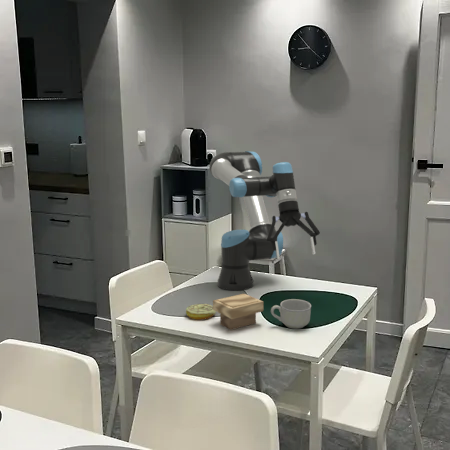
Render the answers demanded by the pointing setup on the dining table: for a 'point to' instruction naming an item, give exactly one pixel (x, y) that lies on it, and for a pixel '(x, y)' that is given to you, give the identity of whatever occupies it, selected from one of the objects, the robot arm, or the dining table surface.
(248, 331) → the dining table surface
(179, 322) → the dining table surface
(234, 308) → the cover board
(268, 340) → the dining table surface
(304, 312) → the teacup
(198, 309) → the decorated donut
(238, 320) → the brown rectangular block
